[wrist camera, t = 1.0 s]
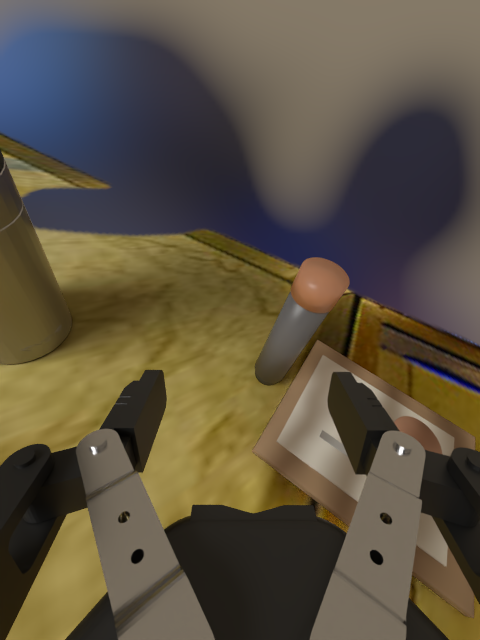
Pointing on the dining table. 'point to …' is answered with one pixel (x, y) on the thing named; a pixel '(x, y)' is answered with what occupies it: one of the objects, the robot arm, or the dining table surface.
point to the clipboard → (334, 465)
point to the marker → (300, 316)
